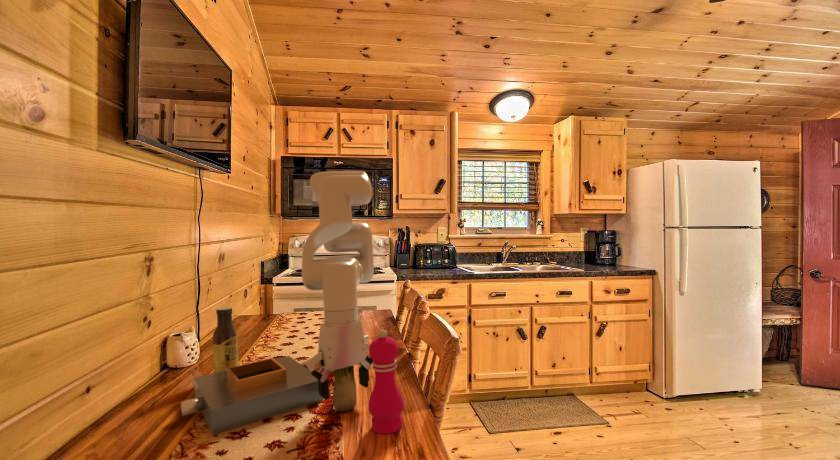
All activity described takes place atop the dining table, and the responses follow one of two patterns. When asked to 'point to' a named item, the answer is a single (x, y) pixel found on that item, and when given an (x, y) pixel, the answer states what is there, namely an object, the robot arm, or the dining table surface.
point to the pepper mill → (385, 386)
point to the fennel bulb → (344, 389)
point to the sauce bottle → (225, 341)
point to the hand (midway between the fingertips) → (344, 391)
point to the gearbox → (252, 393)
